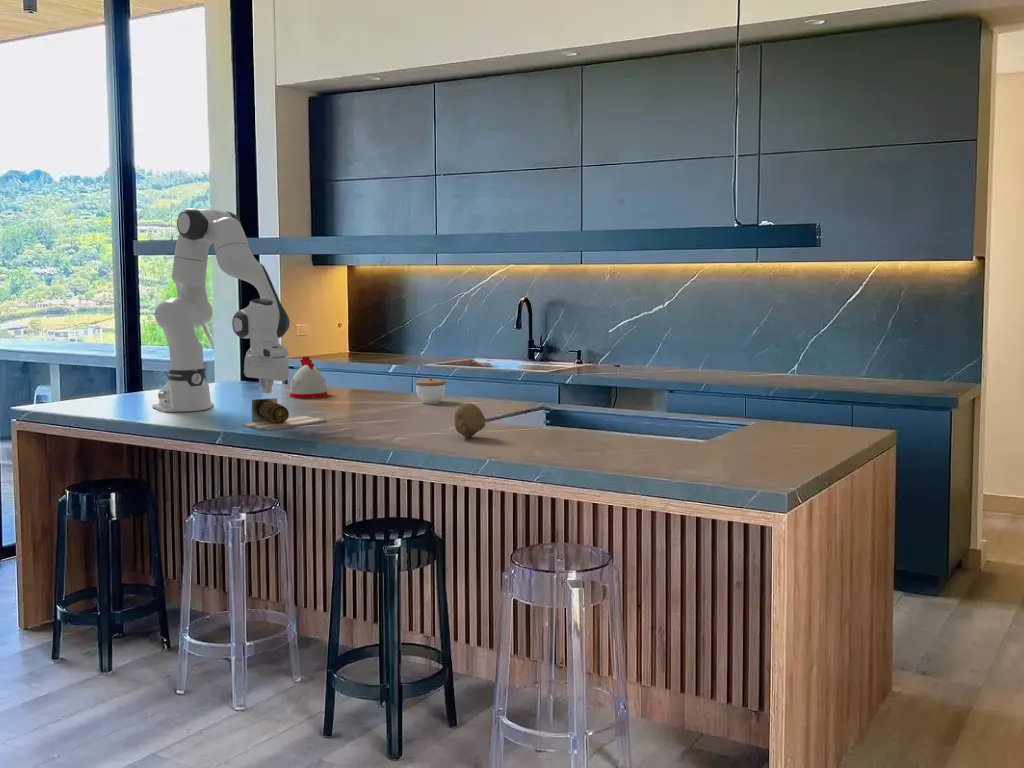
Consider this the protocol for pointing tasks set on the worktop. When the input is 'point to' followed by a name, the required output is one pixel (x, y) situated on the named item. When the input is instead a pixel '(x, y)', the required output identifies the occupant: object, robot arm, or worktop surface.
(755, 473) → the worktop surface
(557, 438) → the worktop surface
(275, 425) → the wooden cutting board
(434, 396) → the lidded jar
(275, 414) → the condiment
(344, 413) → the worktop surface
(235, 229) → the robot arm
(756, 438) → the worktop surface
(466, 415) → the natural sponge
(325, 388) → the kitchen timer
